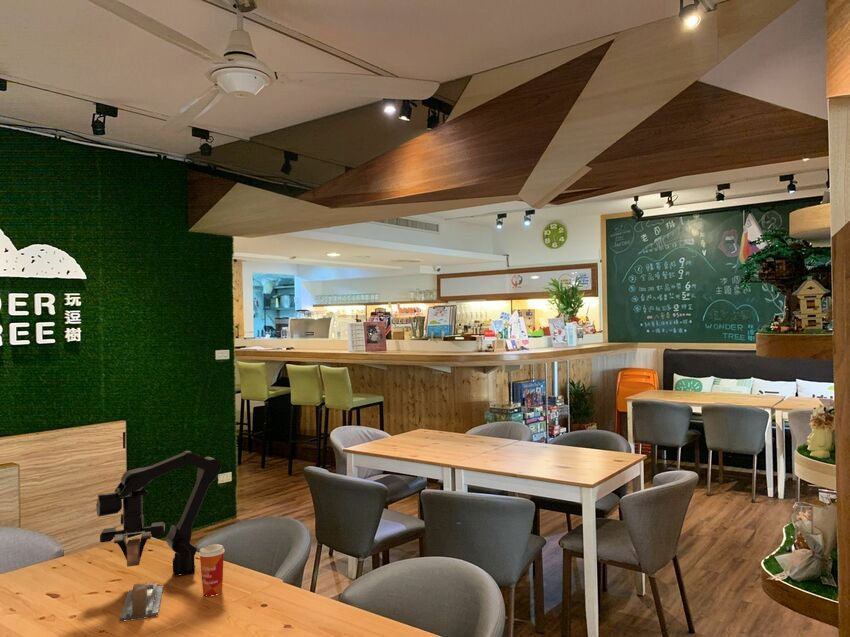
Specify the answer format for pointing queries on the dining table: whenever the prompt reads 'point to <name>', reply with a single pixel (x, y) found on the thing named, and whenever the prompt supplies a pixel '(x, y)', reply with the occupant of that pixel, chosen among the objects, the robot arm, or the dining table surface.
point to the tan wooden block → (133, 552)
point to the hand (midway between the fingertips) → (133, 558)
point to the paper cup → (212, 568)
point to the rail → (150, 600)
